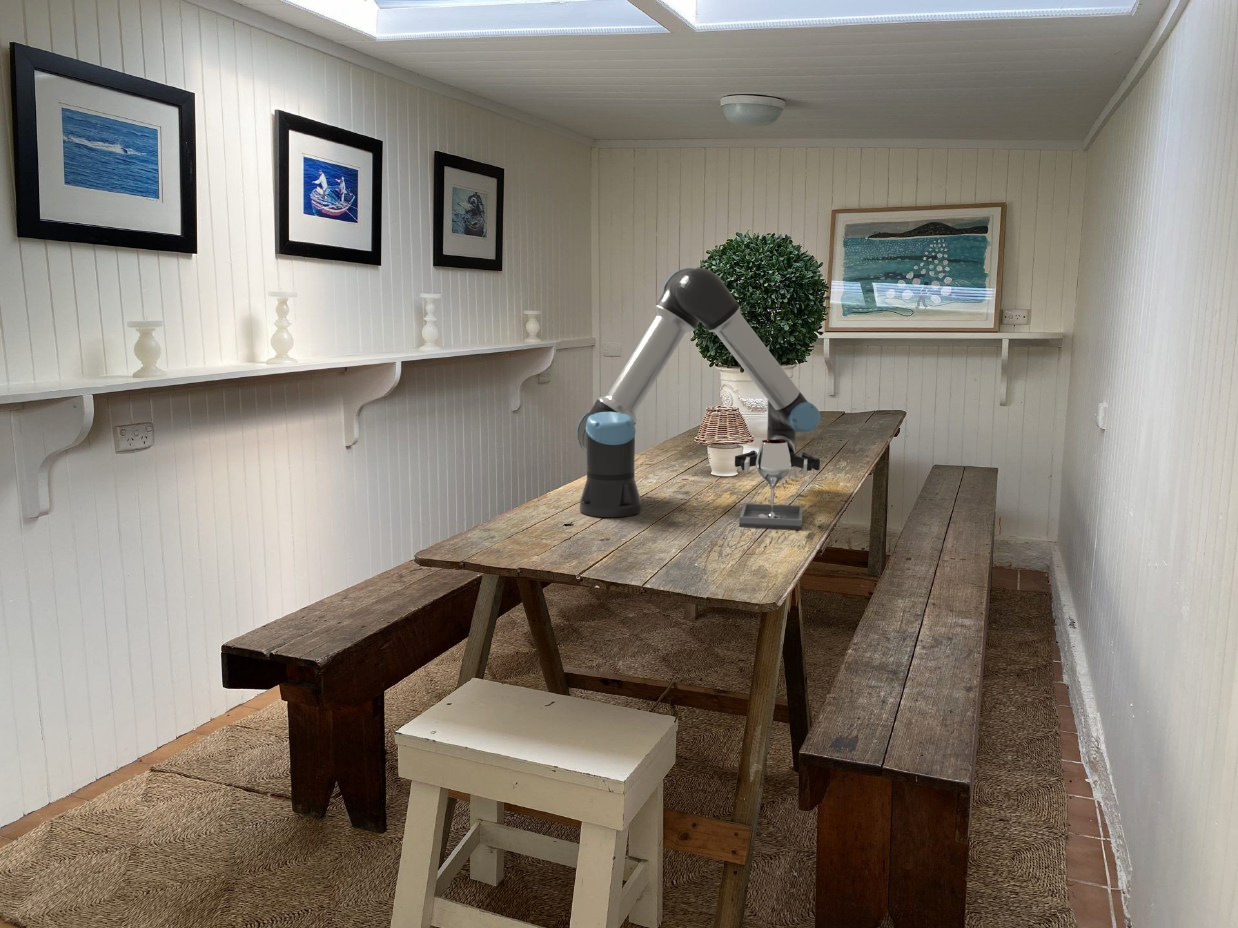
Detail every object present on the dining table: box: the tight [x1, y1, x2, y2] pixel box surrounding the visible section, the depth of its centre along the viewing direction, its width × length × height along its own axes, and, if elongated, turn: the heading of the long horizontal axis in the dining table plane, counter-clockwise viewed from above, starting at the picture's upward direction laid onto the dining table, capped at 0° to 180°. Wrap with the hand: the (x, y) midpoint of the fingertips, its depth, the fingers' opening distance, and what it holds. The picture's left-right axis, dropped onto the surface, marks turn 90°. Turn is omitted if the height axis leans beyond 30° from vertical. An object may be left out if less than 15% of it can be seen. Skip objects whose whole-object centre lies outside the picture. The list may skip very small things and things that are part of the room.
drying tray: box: [738, 502, 804, 530], centre depth 223 cm, size 14×14×2 cm
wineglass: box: [755, 439, 792, 519], centre depth 221 cm, size 8×8×18 cm
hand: (775, 469), depth 222 cm, fingers open, 13 cm apart
